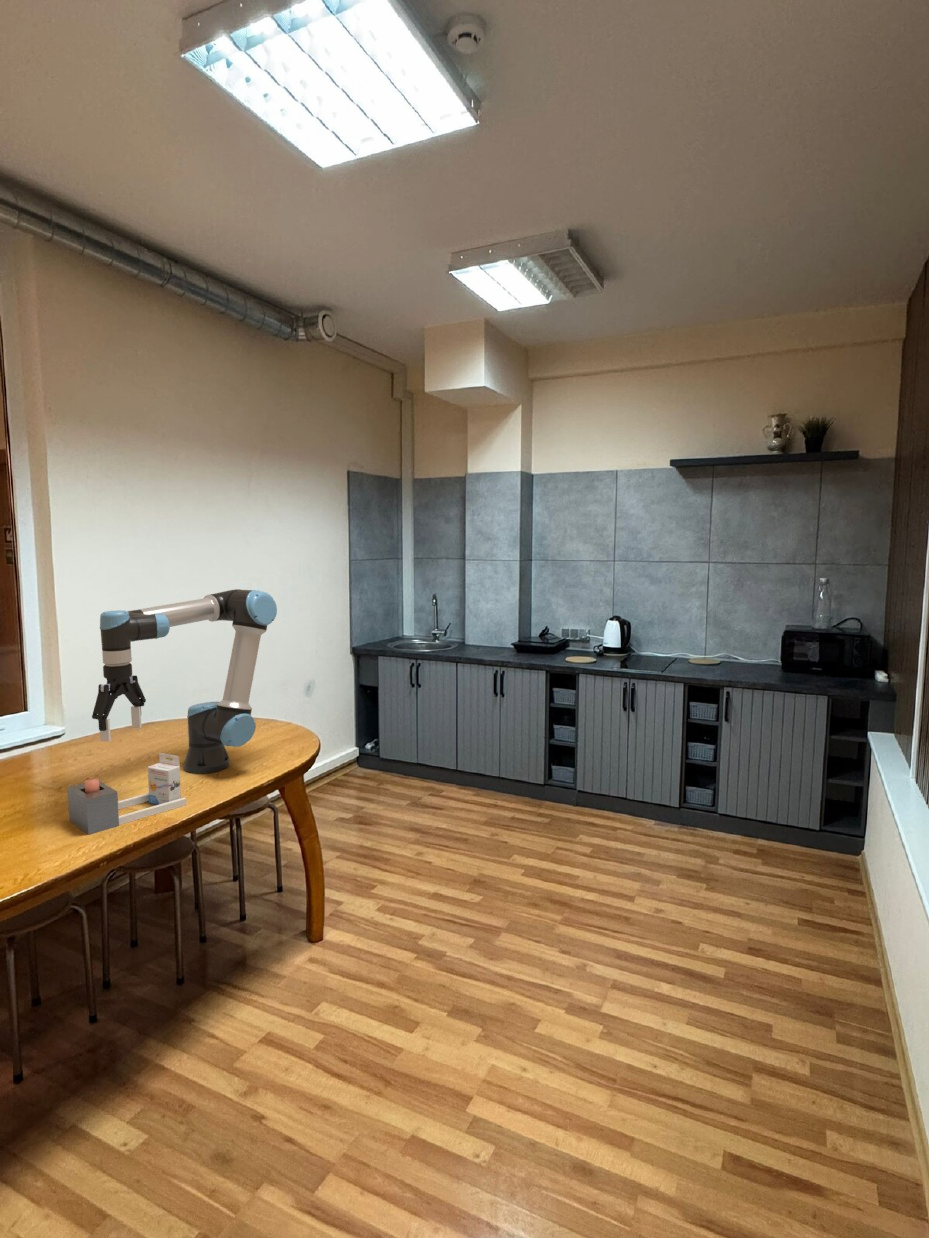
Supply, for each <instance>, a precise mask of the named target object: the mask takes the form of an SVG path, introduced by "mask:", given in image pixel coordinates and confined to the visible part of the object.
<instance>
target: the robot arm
mask: <svg viewBox="0 0 929 1238" xmlns="http://www.w3.org/2000/svg"><path fill="white" fill-rule="evenodd" d="M277 612H278V608H277V603H276V601H275V600H274V597H273V596H272V595H271V594H270V593H268V592H265V591H262V590H255V589H254V590H252V589H238V588H237V589H235V588H234V589H230V590H225V591H220V592H215V593H211V594H207V595H205V596H204V597H203V598H199V599H193V600H187V601H181V602H174V603H169V604H162V605H158V606H150V607H145V608H139V609H133V610H121V609H120V610H119V609H118V610H106V611H104V612H103V611H102V613H101V614H100V617H99V618H100V619H99V629H100V639H101V653H102V663H103V664H104V665H103V666H102V674H103V675H102V676H103V678H105V679H106V683H105V684H104V683H103V684H102V683H100V684H98V691H97V696H96V701H95V704H94V708H93V711H92V715H91V719H93V720H97V721H98V731H99V735H100V737H99V738H100V742H111V741H112V737H111V723H110V722H111V721H110V718H108V717H109V715H110V713H111V710H112V708H113V705H114V703H115V701H116V700H117V699H118V697H120V696H122V695H124V696H125V697H126V699H127V700H128V701H129V702H130V704H131V705H132V706H130V716H131V728H132V729H141V728H143V725H142V707H145V703H146V702H147V701H146V700H147V699H146V697H145V695H144V693H143V690H142V688H141V686H140V684H139V679H138V675H134V674H133V665H132V663H131V662H132V660H133V658H132V647H131V646H132V645H131V642H132V643H133V642H137V641H146V640H154V639H155V640H157V639H159V638H160V639H161V638H165V637H167V635H168V634H169V632H170V630H171V629H170V628H172V627H177V626H182V625H183V626H184V625H187V624H192V623H197V622H198V623H199V622H203V621H209V622H218V621H224V622H225V621H228V622H232V624H231V625H232V628H233V629H234V630H235V632H234V639H233V643H232V648H231V652H230V654H231V655H230V660H229V664H228V670H227V676H226V679H225V680H226V681H225V685H224V692H223V696H222V700H220V701H207V702H202V703H196V704H193V705H191V706H189V707H188V709H187V715H186V716H187V730H188V731H187V732H188V733H187V734H188V750H187V753H186V756H185V759H184V762H183V768H184V769H183V770H184V771H186V772H187V773H190V774H191V773H192V774H209V773H215V772H219V771H222V770H225V769H226V768H228V767H230V757H229V755H228V752H227V749H226V747H233V748H236V747H237V748H238V747H239V748H240V747H242V746H244V745H246V744H247V743H248V742H250V741H251V739H252V738H253V736H254V734H255V731H256V726H257V724H256V720H255V718H254V717H253V716H252V710H253V708H252V706H251V705H250V702H249V701H250V696H251V691H252V686H253V685H252V684H253V680H254V674H255V670H256V663H257V658H258V654H259V649H260V643H261V637H262V635H263V634H265V633H266V632H267V630H268V626H269V625H270V624H272V623H273V621H275V619H276V617H277V614H278V613H277ZM225 746H226V747H225Z"/></svg>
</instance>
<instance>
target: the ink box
mask: <svg viewBox="0 0 929 1238" xmlns="http://www.w3.org/2000/svg"><path fill="white" fill-rule="evenodd" d="M158 757H159V758H158V759H159V762H157V763H154V764H152V765H149V766H147V779H148V781H147V782H148V793H149V801H148V803H149V804H153V805H155V806H156V805H159V804H163V803H166V802H170V801H173V800H177V799H180V798H182V790H181V789H182V786H181V785H182V784H181V765H180V757H179V755H174V754H170V753H169V754H168V753H162V752H159V753H158ZM168 758H169V759H168ZM171 759H172V760H171Z"/></svg>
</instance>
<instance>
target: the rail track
mask: <svg viewBox="0 0 929 1238" xmlns="http://www.w3.org/2000/svg"><path fill="white" fill-rule="evenodd" d="M146 802H147V803H149V792H148V793H144V794H140V795H136V796H133V797H129V798H126V799H122V800H118V811H120V810H122V809H125V808H130V807H133V806H137V805H140V804H144V803H146ZM187 805H188V804H187V798H185V797H181V798H180V799H177V800H173V801H170V802H166V803H163V804H159V805H156V804H155V805H153V806H150V807H147V808H143V809H139V810H136V811H132V812H129V813H125V814H122V815H119V826H121V825H125V824H127V823H130V822H134V821H136V820H137V821H138V820H140V819H144V818H147V817H151V816H153V815H159V814H161V813H164V812H167V811H171V810H174V809H178V808H182V807H185V806H187Z"/></svg>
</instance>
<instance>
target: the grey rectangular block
mask: <svg viewBox="0 0 929 1238" xmlns="http://www.w3.org/2000/svg"><path fill="white" fill-rule="evenodd" d="M99 789H100V791H96V792H92V793H88V794H86V793H85V782H83V783H78V784H74V785H70V786H67V801H68V803H67V804H68V805H67V806H68V816H69V817H68V818H69V820H68V821H69V822H71V823H72V824H73V825H74V826H76V827H77V828H78V829H80V830H81V831H82V832H84V833H86V834H87V835H88V836H89V835H93V834H97V833H99V832H103V831H105V830H106V831H107V830H109V829H112V828H116V827H119V826H120V825H119V816H120V815H119V810H118V801H119V800H118V799H119V798H118V795H119V794H118V791H117V790H115V789H114V788H112V787H111V786H109V785H107V784H105V782H102V781H100V780H99Z"/></svg>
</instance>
